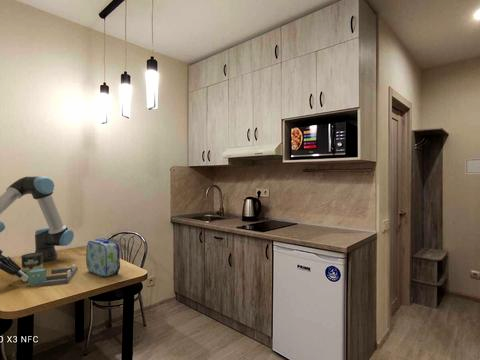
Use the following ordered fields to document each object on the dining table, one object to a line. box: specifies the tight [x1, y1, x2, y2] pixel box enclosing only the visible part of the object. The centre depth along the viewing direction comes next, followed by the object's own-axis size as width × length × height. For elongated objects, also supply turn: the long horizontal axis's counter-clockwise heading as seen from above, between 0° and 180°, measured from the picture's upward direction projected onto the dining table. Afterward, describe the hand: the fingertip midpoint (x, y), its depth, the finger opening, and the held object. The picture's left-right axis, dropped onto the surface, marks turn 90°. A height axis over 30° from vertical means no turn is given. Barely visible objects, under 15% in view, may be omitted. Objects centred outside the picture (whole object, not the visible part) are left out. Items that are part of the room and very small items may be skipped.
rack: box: [37, 264, 78, 287], centre depth 169 cm, size 25×14×5 cm, turn 19°
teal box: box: [28, 267, 47, 287], centre depth 160 cm, size 6×7×8 cm
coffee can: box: [21, 252, 44, 282], centre depth 169 cm, size 10×10×14 cm
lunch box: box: [85, 238, 121, 278], centre depth 176 cm, size 26×11×21 cm, turn 53°
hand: (27, 279), depth 158 cm, fingers closed
